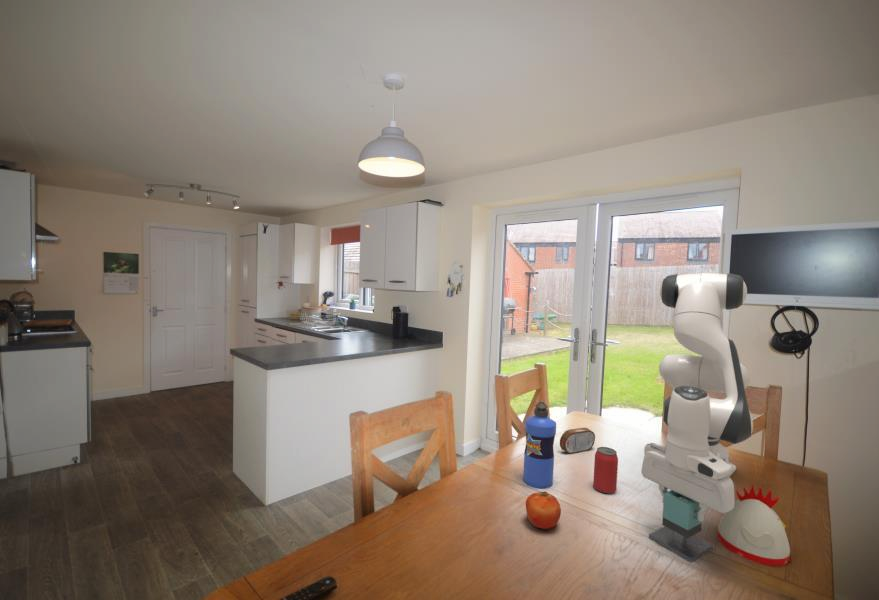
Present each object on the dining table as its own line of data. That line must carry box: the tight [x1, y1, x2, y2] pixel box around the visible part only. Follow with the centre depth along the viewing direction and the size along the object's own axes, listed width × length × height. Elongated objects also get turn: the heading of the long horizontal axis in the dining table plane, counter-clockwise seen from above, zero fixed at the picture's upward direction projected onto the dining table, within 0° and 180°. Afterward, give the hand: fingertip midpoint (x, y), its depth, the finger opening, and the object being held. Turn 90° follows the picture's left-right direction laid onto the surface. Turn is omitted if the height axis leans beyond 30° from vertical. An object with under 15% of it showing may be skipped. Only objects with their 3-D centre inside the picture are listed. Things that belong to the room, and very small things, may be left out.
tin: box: [559, 427, 596, 454], centre depth 152 cm, size 15×3×8 cm, turn 114°
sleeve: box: [662, 489, 703, 530], centre depth 99 cm, size 6×6×6 cm
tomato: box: [525, 490, 562, 530], centre depth 106 cm, size 9×9×8 cm
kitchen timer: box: [717, 484, 791, 567], centre depth 99 cm, size 14×14×15 cm
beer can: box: [592, 446, 619, 494], centre depth 125 cm, size 7×7×12 cm
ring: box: [661, 517, 702, 538], centre depth 100 cm, size 6×6×2 cm
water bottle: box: [522, 401, 557, 490], centre depth 128 cm, size 9×9×25 cm
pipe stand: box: [648, 496, 714, 563], centre depth 100 cm, size 10×10×11 cm
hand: (682, 511), depth 99 cm, fingers closed on sleeve, 6 cm apart
